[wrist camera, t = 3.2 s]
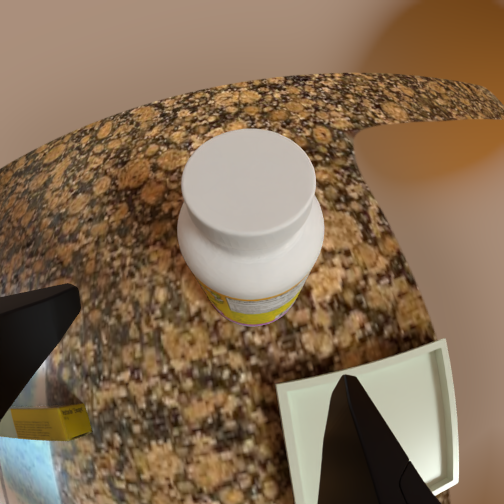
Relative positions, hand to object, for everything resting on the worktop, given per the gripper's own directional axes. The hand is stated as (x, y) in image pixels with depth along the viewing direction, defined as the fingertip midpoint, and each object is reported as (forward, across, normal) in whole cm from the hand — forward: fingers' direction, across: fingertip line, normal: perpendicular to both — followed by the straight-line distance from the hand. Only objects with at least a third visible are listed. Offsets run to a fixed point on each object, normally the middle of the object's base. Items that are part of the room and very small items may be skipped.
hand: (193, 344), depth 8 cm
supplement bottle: (+13, 0, +5) cm, 14 cm away
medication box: (0, +14, +17) cm, 22 cm away
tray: (+6, -12, +11) cm, 18 cm away
